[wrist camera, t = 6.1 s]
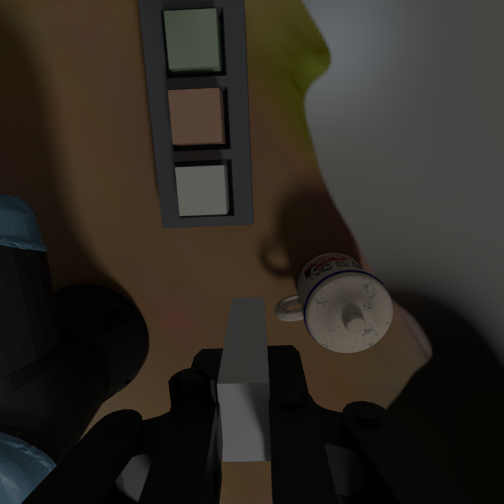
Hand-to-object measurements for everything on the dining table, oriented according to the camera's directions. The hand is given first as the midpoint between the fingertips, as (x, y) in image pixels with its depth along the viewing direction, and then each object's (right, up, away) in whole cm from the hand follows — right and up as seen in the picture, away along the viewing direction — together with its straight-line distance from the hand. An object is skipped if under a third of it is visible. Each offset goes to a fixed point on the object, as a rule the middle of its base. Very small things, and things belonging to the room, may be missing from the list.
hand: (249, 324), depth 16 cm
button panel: (-5, +18, +23) cm, 29 cm away
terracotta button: (-5, +17, +20) cm, 27 cm away
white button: (-5, +10, +22) cm, 24 cm away
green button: (-5, +24, +19) cm, 32 cm away
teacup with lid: (+9, -1, +28) cm, 29 cm away
